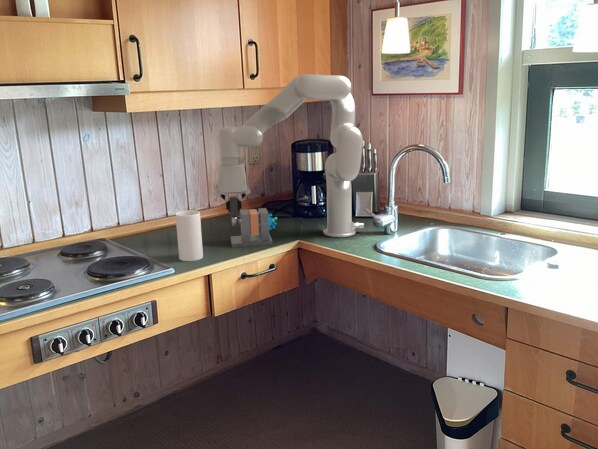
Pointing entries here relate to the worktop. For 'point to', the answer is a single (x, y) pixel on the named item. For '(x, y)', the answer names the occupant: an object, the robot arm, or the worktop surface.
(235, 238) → the bracket
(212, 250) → the worktop surface
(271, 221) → the blue spiky toy
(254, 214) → the orange square block
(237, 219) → the shaft
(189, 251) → the cup
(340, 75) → the robot arm
